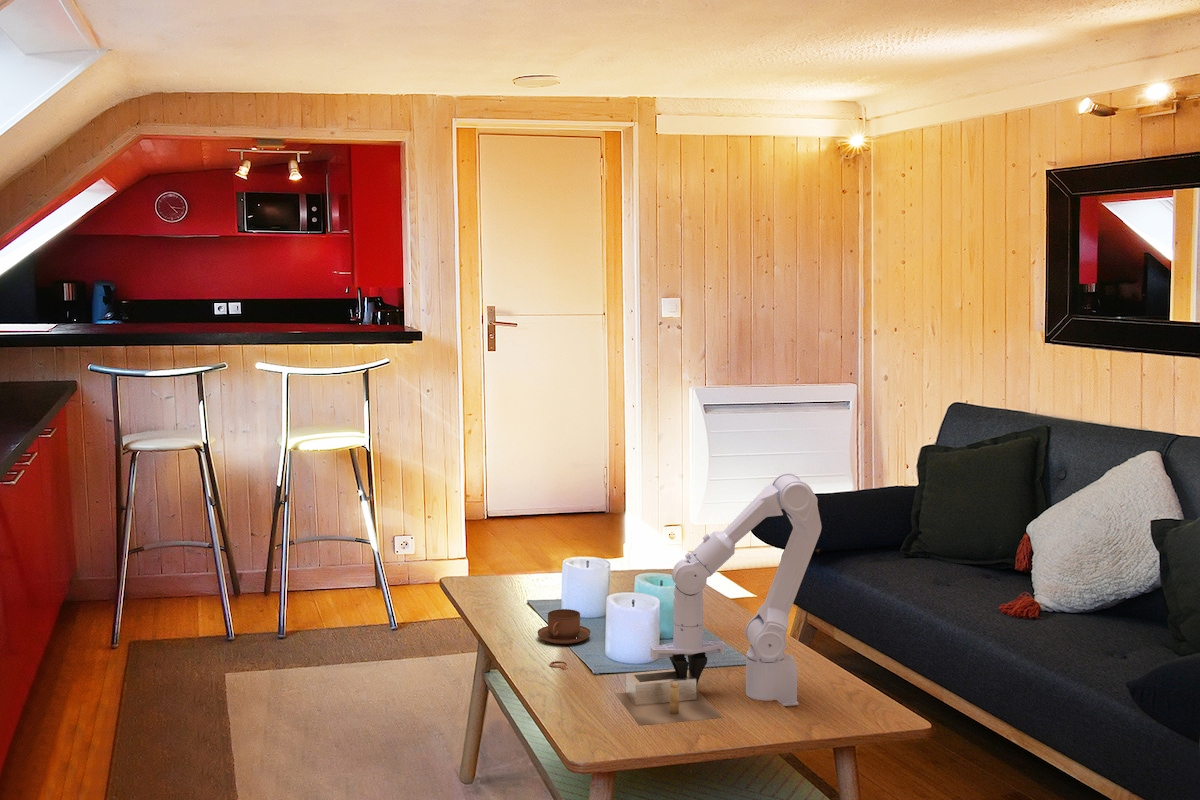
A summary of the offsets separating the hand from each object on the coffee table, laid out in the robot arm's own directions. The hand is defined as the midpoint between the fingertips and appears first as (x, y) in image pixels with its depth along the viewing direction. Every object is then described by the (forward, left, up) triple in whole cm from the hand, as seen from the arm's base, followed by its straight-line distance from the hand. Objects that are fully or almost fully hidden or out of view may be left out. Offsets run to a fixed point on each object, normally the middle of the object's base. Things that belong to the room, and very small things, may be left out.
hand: (687, 691), depth 224 cm
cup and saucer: (+15, -45, -2) cm, 48 cm away
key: (+17, -22, -3) cm, 28 cm away
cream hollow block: (+5, 0, 0) cm, 5 cm away
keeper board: (+5, +4, -2) cm, 7 cm away
